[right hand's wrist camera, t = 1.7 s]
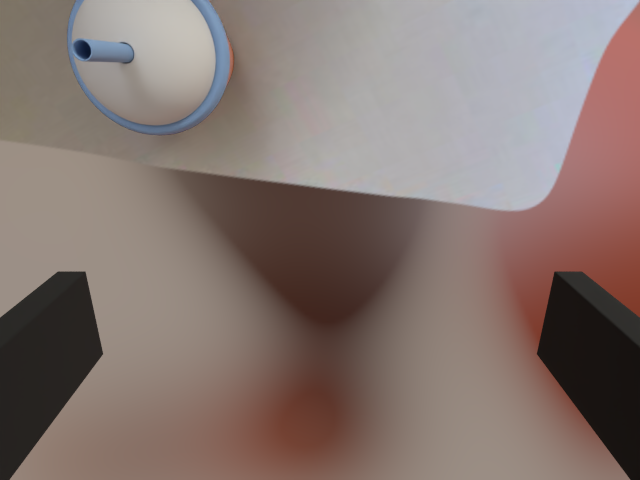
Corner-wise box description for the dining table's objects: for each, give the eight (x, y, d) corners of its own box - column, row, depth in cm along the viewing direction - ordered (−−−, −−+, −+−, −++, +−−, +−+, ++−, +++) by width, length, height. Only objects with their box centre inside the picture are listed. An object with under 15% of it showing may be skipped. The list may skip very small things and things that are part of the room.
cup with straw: (158, 128, 37) (26, 178, 20) (119, 7, 34) (-78, -51, 17) (265, 104, 36) (219, 137, 20) (235, -21, 33) (150, -110, 16)
